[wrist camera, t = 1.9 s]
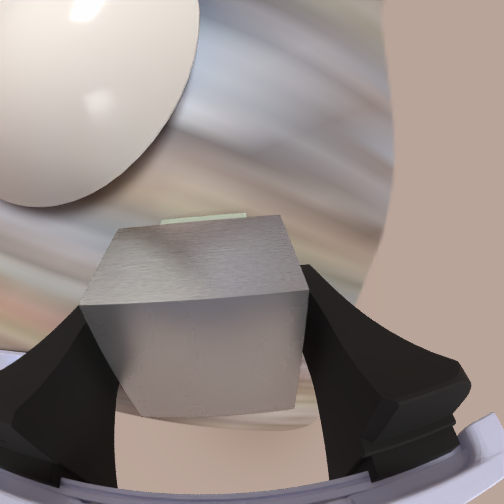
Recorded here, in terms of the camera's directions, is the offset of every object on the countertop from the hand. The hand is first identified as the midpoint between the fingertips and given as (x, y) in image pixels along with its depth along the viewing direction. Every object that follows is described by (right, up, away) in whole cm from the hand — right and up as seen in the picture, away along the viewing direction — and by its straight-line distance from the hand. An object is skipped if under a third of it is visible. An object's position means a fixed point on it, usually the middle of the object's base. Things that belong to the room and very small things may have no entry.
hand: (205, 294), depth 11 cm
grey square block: (0, 0, 0) cm, 0 cm away
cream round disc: (-7, +9, -3) cm, 12 cm away
